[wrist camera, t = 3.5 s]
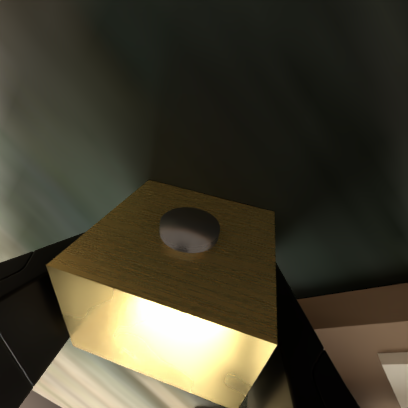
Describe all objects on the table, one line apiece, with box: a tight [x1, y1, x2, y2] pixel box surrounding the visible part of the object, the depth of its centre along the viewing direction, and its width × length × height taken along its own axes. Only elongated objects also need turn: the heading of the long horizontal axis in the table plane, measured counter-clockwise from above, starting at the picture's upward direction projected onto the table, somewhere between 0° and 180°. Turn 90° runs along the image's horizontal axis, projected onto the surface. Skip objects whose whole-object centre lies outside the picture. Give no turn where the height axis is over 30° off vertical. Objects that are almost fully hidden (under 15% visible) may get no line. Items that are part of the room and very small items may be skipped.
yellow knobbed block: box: [46, 180, 277, 408], centre depth 8 cm, size 4×5×5 cm
